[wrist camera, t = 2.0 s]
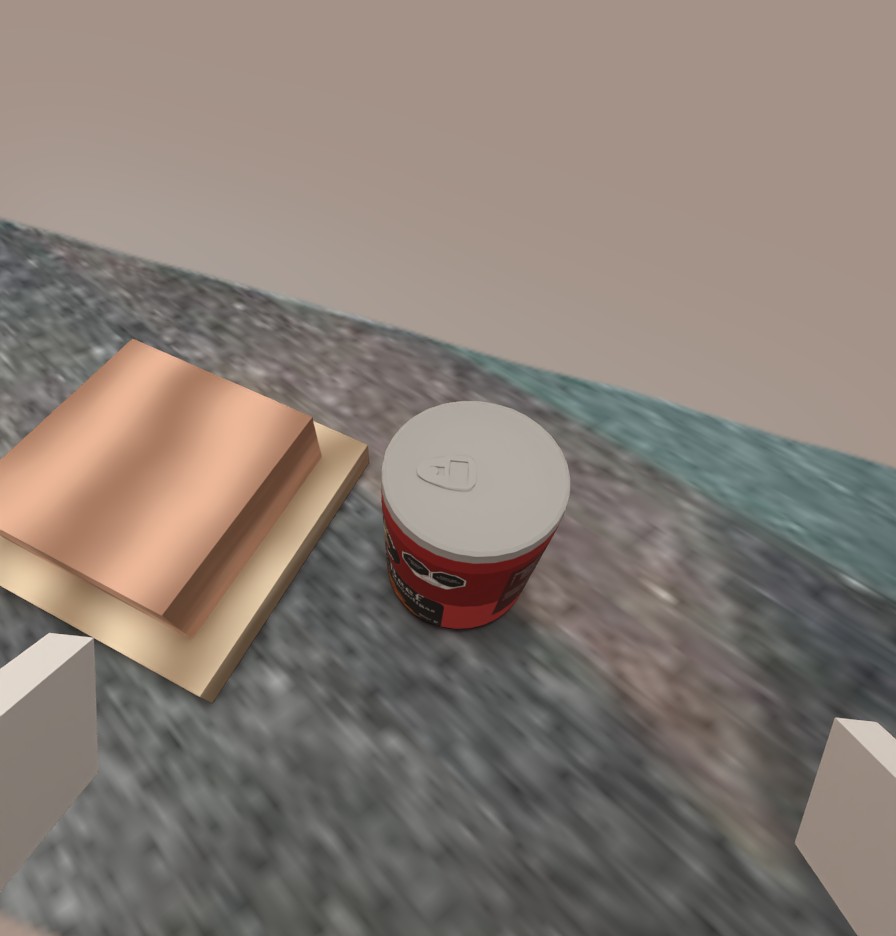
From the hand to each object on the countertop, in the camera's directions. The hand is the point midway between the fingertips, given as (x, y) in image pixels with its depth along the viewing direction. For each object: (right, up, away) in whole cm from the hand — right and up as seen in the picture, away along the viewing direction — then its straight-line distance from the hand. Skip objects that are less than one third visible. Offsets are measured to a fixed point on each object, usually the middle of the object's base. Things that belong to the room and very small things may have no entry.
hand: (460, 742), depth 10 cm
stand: (-16, +2, +23) cm, 28 cm away
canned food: (0, -1, +23) cm, 23 cm away
